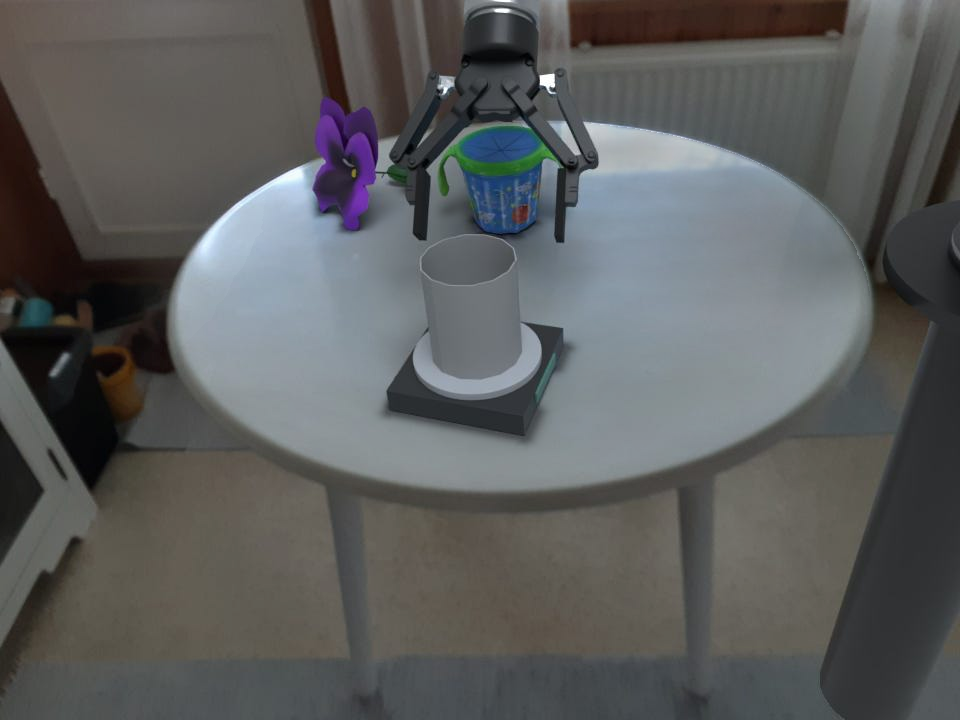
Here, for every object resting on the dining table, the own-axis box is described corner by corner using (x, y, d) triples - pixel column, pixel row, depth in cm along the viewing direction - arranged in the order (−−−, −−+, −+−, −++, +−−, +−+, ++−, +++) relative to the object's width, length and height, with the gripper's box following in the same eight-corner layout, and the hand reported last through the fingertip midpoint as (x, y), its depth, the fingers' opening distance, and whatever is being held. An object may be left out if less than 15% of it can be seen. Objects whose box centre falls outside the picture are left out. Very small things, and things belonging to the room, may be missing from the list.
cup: (505, 316, 82) (498, 226, 76) (535, 365, 76) (530, 271, 70) (422, 337, 81) (408, 247, 75) (445, 389, 75) (433, 295, 68)
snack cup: (430, 236, 102) (420, 157, 96) (461, 195, 110) (453, 120, 103) (555, 250, 97) (553, 169, 91) (578, 207, 105) (578, 129, 99)
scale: (565, 347, 83) (565, 321, 81) (526, 436, 74) (524, 409, 72) (441, 328, 87) (438, 303, 85) (389, 410, 78) (384, 383, 76)
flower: (373, 209, 119) (289, 198, 110) (402, 103, 114) (316, 83, 105) (434, 247, 110) (347, 239, 100) (468, 134, 105) (380, 114, 95)
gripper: (629, 42, 85) (620, 250, 83) (389, 48, 89) (375, 245, 87) (629, 3, 77) (619, 230, 75) (368, 12, 82) (351, 226, 80)
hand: (488, 238), depth 81 cm, fingers open, 13 cm apart
